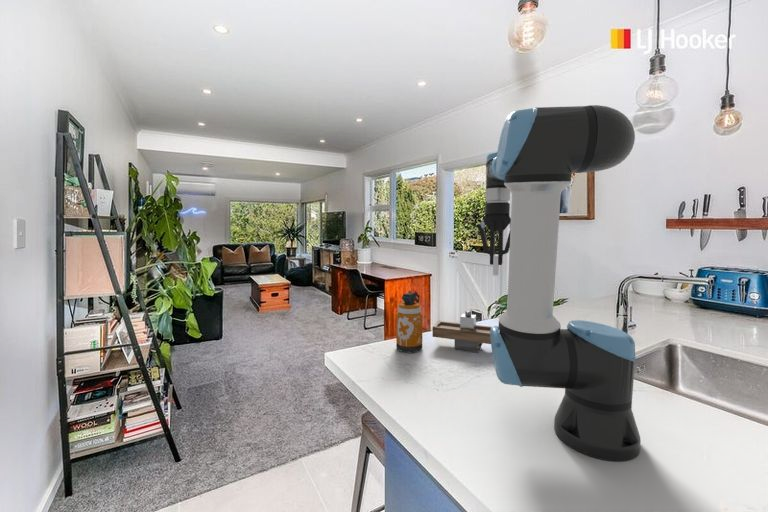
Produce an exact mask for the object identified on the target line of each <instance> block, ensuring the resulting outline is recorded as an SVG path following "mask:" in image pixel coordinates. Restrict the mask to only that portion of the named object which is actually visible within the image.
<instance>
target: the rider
mask: <svg viewBox="0 0 768 512" xmlns="http://www.w3.org/2000/svg"><path fill="white" fill-rule="evenodd" d="M459 319H460V320H459V321H460V322H459V323H460V329H468V330H471V331H475V329H476V325H477V314H472V310H465V313H462V314H461V316H460V317H459Z"/></svg>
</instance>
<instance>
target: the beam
mask: <svg viewBox="0 0 768 512" xmlns="http://www.w3.org/2000/svg"><path fill="white" fill-rule="evenodd" d="M491 327H492V326H489V325H488V326H487V325H481V324H480V325H478V324H476V329H475V331H471V330H468V329H460V322H452V321H445V320H438V321H437V322H436V323H435V324H434V325H433V326H432V336H431V337H432V338H439V339H447V340H454V345H453V346H454V349H455V350H454V351H459V350H460V352H467V353H475V354H479V352H480V351H481V348H482V345H483V344H488V345H491V339H490V332H491V331H490V329H491Z"/></svg>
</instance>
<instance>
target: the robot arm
mask: <svg viewBox="0 0 768 512" xmlns="http://www.w3.org/2000/svg"><path fill="white" fill-rule="evenodd" d="M635 134H636V133H635V129H634V125H633V124H632V122H631V120H630V119H629V117H627V116H626V115H625V114H624V113H623V112H621V111H620V110H618V109H616V108H613V107H609V106H606V105H599V104H598V105H597V104H595V105H594V104H593V105H578V106H577V105H576V106H548V107H547V106H544V107H539V106H538V107H537V106H536V107H532V108H526V109H518V110H517V109H516V110H514V111H512V112H510V114H508V115H507V117H506V119H505V120H504V123H503V126H502V129H501V133H500V137H499V141H498V142H499V143H498V146H497V151H495V152H490V153H488V154H487V156H486V161H485V170H486V171H485V180H486V181H485V202H486V203H485V204H484V205H485V206H484V212H485V213H484V218H483V221H481V222H480V223H477V224H476V228H477V229H478V231H479V235H480V238H481V244H482V248H483V252H484V253H485V254H488V255H489V265H490V266H492V275H493V276H499V275H500V274H499V273H500V271H499V270H500V266H502V265H503V258H504V256H503V255H507V254H508V255H509V256H508V278H507V279H508V280H507V281H508V282H507V298H506V299H507V300H506V301H507V302H506V303H507V305H506V310H505V312H504V313H502V314H501V315H500V316H499V317H498V326H497V325H494V326H490V327H491V329H490V331H491V332H490V339H491V344H490V347H491V354H492V360H493V365H494V370H495V374H496V377H497V379H498V381H500V383H501V384H504V385H510V386H519V387H520V388H523V387H532V388H548V389H549V388H550V389H551V388H552V389H564V395H563V397H562V400H561V402H560V404H559V406H558V408H557V411H556V413H555V415H554V421H553V423H554V425H553V430H554V433H555V434H556V436H557V437H558V438H559V439H560V440H561V441H562V442H563V443H564V444H566V445H567V446H568V447H570V448H571V449H573V450H575V451H577V452H579V453H581V454H584V455H587V456H589V457H593V458H595V459H601V460H604V461H605V460H606V461H614V462H615V461H616V462H624V461H629V460H632V459H635V458H637V456H638V455H640V452H641V441H642V440H641V435H640V433H639V429H638V425H637V423H636V420H635V415H634V413H633V409H632V408H633V406H632V405H633V394H634V379H635V365H636V361H637V358H636V342H635V340H634V338H633V337H632V336H631V335H630V334H628V333H627V332H625V331H624V330H621V329H619V328H616V327H614V326H612V325H611V326H610V325H607V324H604V323H600V322H599V323H598V322H594V321H590V320H589V321H588V320H582V319H581V320H579V319H575V320H570V321H568V323H567V325H566V329H565V328H561V323H560V321H559V320H558V318H555V316H554V302H555V301H554V300H555V286H556V285H555V283H556V271H557V257H558V254H557V253H558V243H559V241H558V240H559V227H560V226H559V225H560V213H561V212H560V210H561V198H562V197H561V195H562V192H563V191H564V190H566V188H567V187H569V185H571V183H572V175H573V174H581V173H595V172H600V171H604V170H609V169H612V168H614V167H616V166H618V165H619V164H621V163H622V162H623V161H625V160H626V158H627V157H628V156H629V155H630V153H631V152H632V149H633V148H634V145H635V141H636V135H635ZM510 200H511V204H510V202H509V201H510ZM510 207H511V208H510ZM510 209H511V211H510ZM508 226H509V229H510V230H509V232H508V235H507V240H506V244H505V246H504V231H505V230H506V228H507V227H508ZM485 227H487V229H488V230H489V234H490V237H489V245H488V240H487V235H486V232H485ZM496 232H498V234H497V235H498V237H497V238H498V240H497V242H498V243H497V244H498V245H497V248H498V249H497V250H498V251H497V254H495V251H496V248H495V247H496Z"/></svg>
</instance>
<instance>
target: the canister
mask: <svg viewBox="0 0 768 512" xmlns="http://www.w3.org/2000/svg"><path fill="white" fill-rule="evenodd" d="M395 314H396V315H395V318H396V319H395V320H396V324H395V326H396V327H395V328H396V332H395V334H396V335H395V336H396V337H395V338H396V339H395V340H396V345H395V346H396V349H397V350H399V351H402V352H404V353H415V352H418V351H421V350H422V349H423V312H422V306H421V304H420V294H418V292H417V291H416V290H415V291H414V292H412V291H411V290H409V291H408V292H406V293H403V294H402V296H401V300H400V303H399V304H398V305H397V311H396V313H395Z"/></svg>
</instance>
